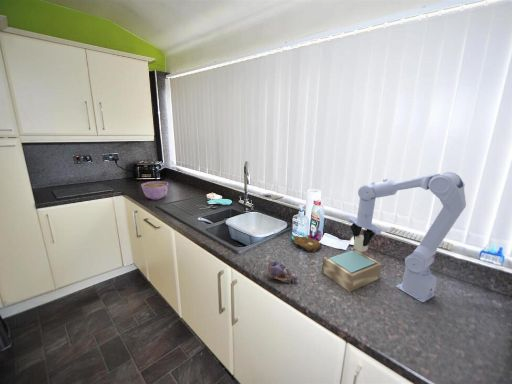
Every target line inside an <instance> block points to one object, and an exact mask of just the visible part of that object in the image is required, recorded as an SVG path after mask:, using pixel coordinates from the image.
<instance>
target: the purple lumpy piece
mask: <svg viewBox="0 0 512 384" xmlns="http://www.w3.org/2000/svg"><path fill="white" fill-rule="evenodd" d="M267 274H268V276H269V277H270V278H271V279H274V280H275V279H276V280H279V281H280V282H283V283H289V284H291V283H293V284H294V283H295V282H297V280H298V278H299V276H298V275H297V274H295V273H293V272H291V271H290V270H289V269H288V268H287V267H286V266H285V265H284V264H283V263H282V262H280V261H270V262H269V263H268V265H267Z"/></svg>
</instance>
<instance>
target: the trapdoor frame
mask: <svg viewBox="0 0 512 384" xmlns="http://www.w3.org/2000/svg"><path fill="white" fill-rule="evenodd" d="M352 250H353V251H354V252H356V253H358V254H360V255H362V256H364V257H366V258H367V259H369V260H371V261H373V262H375V265H373V266H370V267H368V268H365V269H363V270H360V271H358V272H356V273H353V274H352V273H350V272H348V271H347V270H345V269H344V268H342V267H341V266H339V265H337V264H336V263H334V262H333V261H331V260H330V259H329V258H330V257H329V258H328V257H327V256H324V257H323V258H322V259H323V260H322V266H321V268H322V269H321V272H322V273H323V274H324V275H325V276H327V277H328V278H330V279H331V280H332V281H334V282H335V283H337V284H338V285H340V286H341V287H342V288H343V289H345V290H347V291H348V292H350V293H351V292H353V291H355V290H357V289H359V288H362V287H363V286H366V285H368V284H371V283H372V282H375V281H377V280H379V279H380V277H381V272H382V268H383V267H382V266H383V264H382V262H379V261H378V260H375V259H374V258H371V257H369V256H368V255H367V254H364V253H363V252H360V251H358V250H356V249H354V248H353V247H351V248H350V249H349V251H352Z"/></svg>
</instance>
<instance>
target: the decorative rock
mask: <svg viewBox="0 0 512 384" xmlns="http://www.w3.org/2000/svg"><path fill="white" fill-rule="evenodd" d="M298 236H299V235H298ZM298 236H295V235H293V236H292V237H293V243H294V244H295V245H298V246H299V247H300V248H304V249H305V250H306V252H314V253H316V252H317V251H319V249H320V248H321V247H322V242H319V240H316V239H314V238H311V237H308V236H305V237H298Z"/></svg>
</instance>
